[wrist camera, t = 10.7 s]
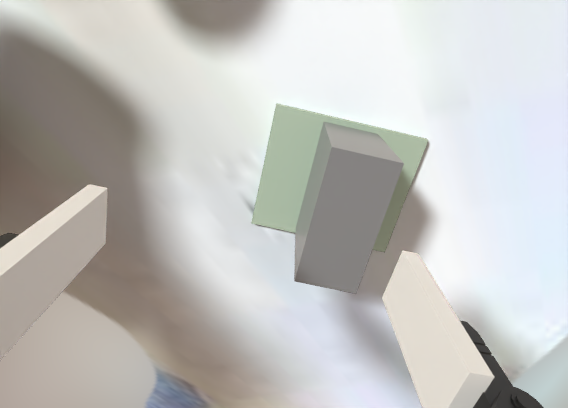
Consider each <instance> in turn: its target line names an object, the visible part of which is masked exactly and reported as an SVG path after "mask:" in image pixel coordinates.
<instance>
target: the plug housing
mask: <svg viewBox="0 0 568 408" xmlns="http://www.w3.org/2000/svg"><path fill="white" fill-rule="evenodd" d="M403 165H404V163H403V162H402V160H401V159H400V158H399V157H398V156H397V155H396V154H395V153H394V151H393V150H392V149H391V148H390V147H389V146H388V145H387V144H386V143H385V141H384V140H383V139H382V138H381V137H380V136H379V135H378V134H376V133H372V132H367V131H363V130H359V129H354V128H350V127H346V126H341V125H337V124H333V123H328V122H323V126H322V130H321V133H320V137H319V141H318V145H317V149H316V152H315V156H314V160H313V164H312V168H311V172H310V175H309V179H308V183H307V187H306V191H305V194H304V198H303V202H302V206H301V210H300V214H299V217H298V221H297V225H296V232H295V275H294V281H296V282H301V283H306V284H311V285H315V286H320V287H325V288H330V289H335V290H340V291H344V292H349V293H354V294H356V293H357V290H358V287H359V285H360V282H361V279H362V276H363V274H364V271H365V268H366V266H367V263H368V260H369V257H370V255H371V252H372V249H373V247H374V244H375V241H376V238H377V236H378V233H379V230H380V228H381V225H382V222H383V219H384V217H385V214H386V211H387V209H388V206H389V203H390V200H391V198H392V195H393V192H394V190H395V187H396V184H397V181H398V179H399V176H400V173H401V171H402V168H403Z"/></svg>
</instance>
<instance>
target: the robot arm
mask: <svg viewBox="0 0 568 408" xmlns="http://www.w3.org/2000/svg"><path fill="white" fill-rule="evenodd" d="M107 196H108V188H106V187H101V186H96V185H91V184H89V185H87V186H86V187H84V188H83V189H82V190H80V191H79V192H78V193H76V194H75V195H73V196H72V197H71V198H69V199H68V200H67V201H65V202H64V203H62V204H61V205H60V206H58V207H57V208H55V209H54V210H53V211H51V212H50V213H49V214H47V215H46V216H44V217H43V218H42V219H40V220H39V221H37V222H36V223H35V224H33V225H32V226H31V227H29V228H28V229H26V230H25V231H24V232H22V233H21V234H20V235H17V234H12V233H7V234H4V235H2V236H0V361H1V360H2V358H3V357H4V356H5V355H6V354H7V353H8V352H9V351H10V350H11V348H12V347H13V346H14V345H15V344H16V343H17V342H18V341H19V339H20V338H21V337H22V336H23V335H24V334H25V333H26V332H27V330H28V329H29V328H30V327H31V326H32V325H33V324H34V323H35V322H36V321H37V319H38V318H39V317H40V316H41V315H42V314H43V312H44V311H45V310H46V309H47V308H48V307H49V306H50V305H51V304H52V303H53V301H54V300H55V299H56V298H57V297H58V296H59V295H60V294H61V293H62V292H63V290H64V289H65V288H66V287H67V286H68V285H69V284H70V283H71V281H72V280H73V279H74V278H75V277H76V276H77V275H78V274H79V273H80V271H81V270H82V269H83V268H84V267H85V266H86V265H87V264H88V262H89V261H90V260H91V259H92V258H93V257H94V256H95V255H96V254H97V252H98V251H99V250H100V249H101V248H102V247H103V246H104V245H105V244H106V223H107ZM382 300H383V302H384V305H385V308H386V310H387V313H388V316H389V319H390V321H391V324H392V327H393V329H394V332H395V335H396V338H397V340H398V343H399V346H400V348H401V351H402V354H403V357H404V359H405V362H406V365H407V367H408V370H409V373H410V375H411V378H412V381H413V384H414V386H415V389H416V392H417V394H418V397H419V400H420V403H421V405H422V408H543V407H542V405H540V403H539V402H538V401H537V400H536V399H534V398H533V397H532V396H530V395H529V394H528V393H526V392H524V391H522V390H521V389H518V388H515V387H513V386H512V384H511V383H510V381H509V379H508V378H507V376H506V375H505V373H504V372H503V370H502V369H501V367H500V366H499V364H498V363H497V361H496V360H495V358H494V357H493V356H491V354H492V353H491V352H490V350H489V349H488V347H487V346H485V343H484V341H483V340H482V338H481V337H480V335H479V334H478V332H477V331H476V330H474V329H473V328H472V327H471V326H470V325H469V324H468V323H467V322H464V321H460V320H459V319H458V317H457V316H456V314H455V312H454V311H453V309H452V307H451V306H450V304H449V303H448V301H447V299H446V298H445V296H444V294H443V293H442V291H441V290H440V288H439V286H438V285H437V283H436V281H435V280H434V278H433V277H432V275H431V273H430V272H429V270H428V268H427V267H426V265H425V264H424V262H423V260H422V259H421V257H420V256H419V254H417V253H413V252H408V251H403V250H402V253H401V255H400V257H399V260H398V262H397V264H396V267H395V269H394V271H393V274H392V276H391V278H390V281H389V283H388V285H387V287H386V290H385V292H384V294H383V297H382Z"/></svg>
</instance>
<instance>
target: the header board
mask: <svg viewBox="0 0 568 408" xmlns="http://www.w3.org/2000/svg"><path fill="white" fill-rule="evenodd" d="M323 122H328V123H333V124H337V125H341V126H346V127H350V128H354V129H359V130H363V131H367V132H372V133H376V134H378V135H379V136H380V137H381V138H382V139H383V140H384V141H385V143H386V144H387V145H388V146H389V147H390V148H391V149H392V150H393V151H394V153H395V154H396V155H397V156H398V157H399V158H400V159H401V160H402V162H403V163H404V165H403V168H402V171H401V173H400V176H399V179H398V181H397V184H396V187H395V190H394V192H393V195H392V198H391V200H390V203H389V206H388V209H387V211H386V214H385V217H384V219H383V222H382V225H381V228H380V230H379V233H378V236H377V238H376V241H375V244H374V247H373V249H372V250H376V251H381V252H385V250H386V248H387V245H388V242H389V240H390V237H391V235H392V232H393V230H394V227H395V225H396V222H397V219H398V217H399V214H400V212H401V209H402V207H403V204H404V201H405V199H406V196H407V194H408V191H409V189H410V186H411V183H412V181H413V178H414V176H415V173H416V171H417V168H418V166H419V163H420V160H421V158H422V155H423V153H424V150H425V148H426V145H427V142H428V140H427V139H426V138H421V137H417V136H413V135H409V134H404V133H400V132H396V131H392V130H387V129H383V128H379V127H375V126H370V125H366V124H362V123H358V122H353V121H349V120H345V119H341V118H336V117H332V116H328V115H324V114H319V113H315V112H311V111H307V110H302V109H298V108H294V107H290V106H285V105H281V104H276V108H275V113H274V118H273V122H272V127H271V132H270V137H269V142H268V146H267V151H266V156H265V161H264V165H263V170H262V175H261V180H260V185H259V189H258V194H257V199H256V204H255V208H254V213H253V218H252V224H257V225H261V226H266V227H270V228H275V229H280V230H284V231H289V232H293V233H295V232H296V225H297V221H298V217H299V214H300V210H301V206H302V202H303V198H304V194H305V191H306V187H307V183H308V179H309V175H310V172H311V168H312V164H313V160H314V156H315V152H316V149H317V145H318V141H319V137H320V133H321V130H322V126H323Z"/></svg>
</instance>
